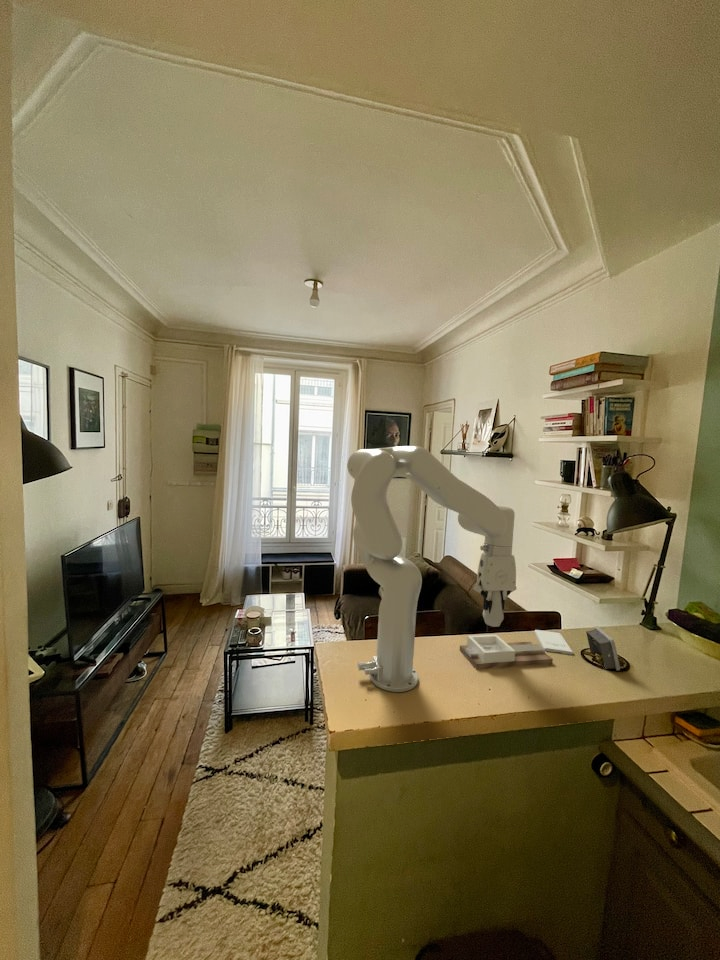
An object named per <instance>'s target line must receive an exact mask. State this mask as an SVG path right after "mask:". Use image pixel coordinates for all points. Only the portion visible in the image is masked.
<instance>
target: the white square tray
mask: <svg viewBox="0 0 720 960" xmlns="http://www.w3.org/2000/svg"><path fill="white" fill-rule="evenodd" d="M466 638H467V640H466V645H467V646H468V647H469V648H473V649H474V650H475V651H476V652H477V653H478V658H479V659H480V660H481V661H482V662H483V663H494V662H509V661H514V660H515V650H514V649H513V648H511V647H510V646H509V645H508V644H507V643H508V642H506V641H505V640H503V638H501V637H500V636H499V635H498V634H479V635H478V634H477V635H467V637H466ZM491 646H492V648H491ZM496 646H497V647H496ZM485 647H487V649H488V647H489V649H490V650H489V649H488V650H489V651H488V650H487V651H486V650H484V649H483V648H485ZM497 648H498V649H497ZM495 649H496V650H495ZM500 649H501V650H500Z"/></svg>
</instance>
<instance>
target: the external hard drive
mask: <svg viewBox="0 0 720 960" xmlns="http://www.w3.org/2000/svg"><path fill="white" fill-rule="evenodd" d="M534 632H535V633H534V635H535V636H536V638H537V640H538V641H539V643H540V646H541V647H542V648H544V649H545V652H550V653H551V652H552V653H558V654H559V653H560V654H564V655H571V656H572V655H573V656H574V651H573V650H572V648H571V647H570V646H569V644H568V643H567V641H566V640H565V638H564V637H563V635H562V634H561V633H560V632H554V631H548V630H547V631H546V630H541V629H535V630H534Z"/></svg>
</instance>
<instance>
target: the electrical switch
mask: <svg viewBox="0 0 720 960" xmlns="http://www.w3.org/2000/svg"><path fill="white" fill-rule="evenodd" d="M585 633H586V637H587V642H588V647H589V651H590V654H591V653H597V654H599V655H601V656H602V657H603V658H601V659H603V660H602V661H604V666H605V668H604V670H607V669H614V668H615V669H616V670H615V669H614V670H615V671H616V672H617V671H621V667H620V661H619V657H618V651H617V647H616V642H615V641H614V639H613V638H612V637H611V636H610V635H608V634H607V633H606V632H605V631H604V630H602V629H601V628H600V627H599V626H597V625H596V626H594V629H590V630H586V632H585ZM601 659H600V660H601Z"/></svg>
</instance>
